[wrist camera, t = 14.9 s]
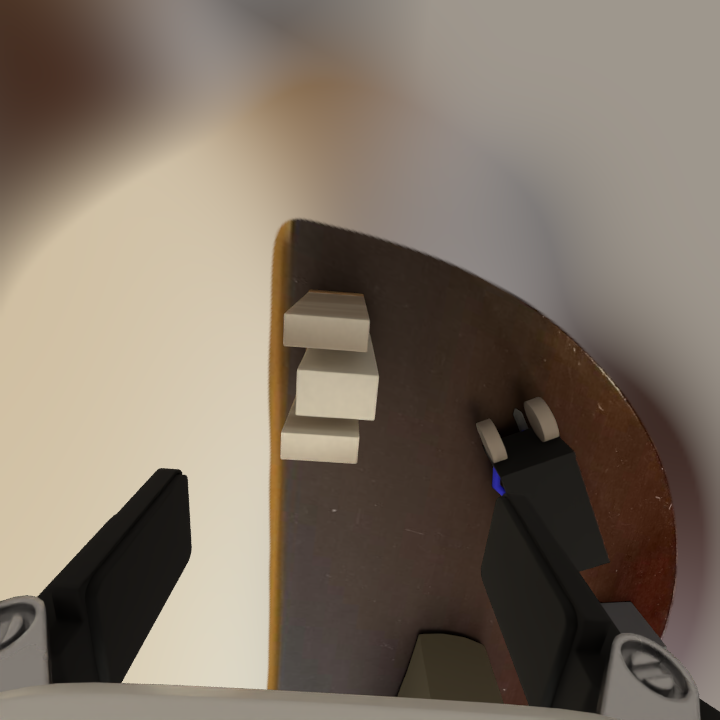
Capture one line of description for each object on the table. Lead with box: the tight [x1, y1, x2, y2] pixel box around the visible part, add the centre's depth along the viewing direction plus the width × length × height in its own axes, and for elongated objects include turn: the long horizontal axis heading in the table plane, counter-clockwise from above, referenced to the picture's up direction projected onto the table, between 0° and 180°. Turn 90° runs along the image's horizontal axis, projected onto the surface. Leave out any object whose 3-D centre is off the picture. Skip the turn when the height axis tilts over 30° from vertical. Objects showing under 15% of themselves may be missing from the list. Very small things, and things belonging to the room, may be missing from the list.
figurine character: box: [476, 397, 610, 572], centre depth 33 cm, size 7×8×15 cm
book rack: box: [281, 290, 370, 464], centre depth 26 cm, size 9×5×12 cm, turn 175°
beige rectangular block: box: [295, 334, 379, 420], centre depth 26 cm, size 3×5×11 cm, turn 85°
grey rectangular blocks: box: [600, 602, 666, 649], centre depth 40 cm, size 8×5×5 cm, turn 2°
